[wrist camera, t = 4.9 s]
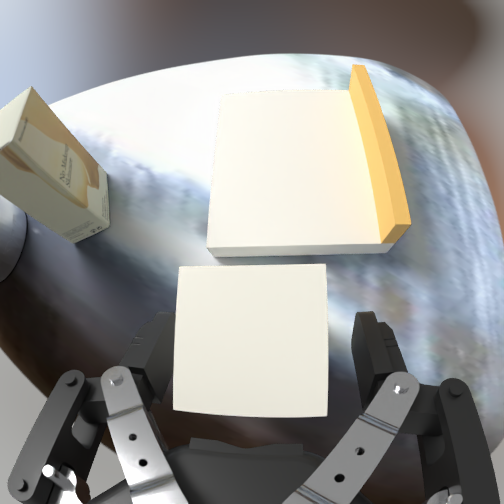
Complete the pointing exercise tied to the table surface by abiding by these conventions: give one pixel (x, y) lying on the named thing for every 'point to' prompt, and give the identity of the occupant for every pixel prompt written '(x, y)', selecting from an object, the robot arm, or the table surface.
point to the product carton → (252, 340)
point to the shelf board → (305, 174)
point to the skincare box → (50, 170)
